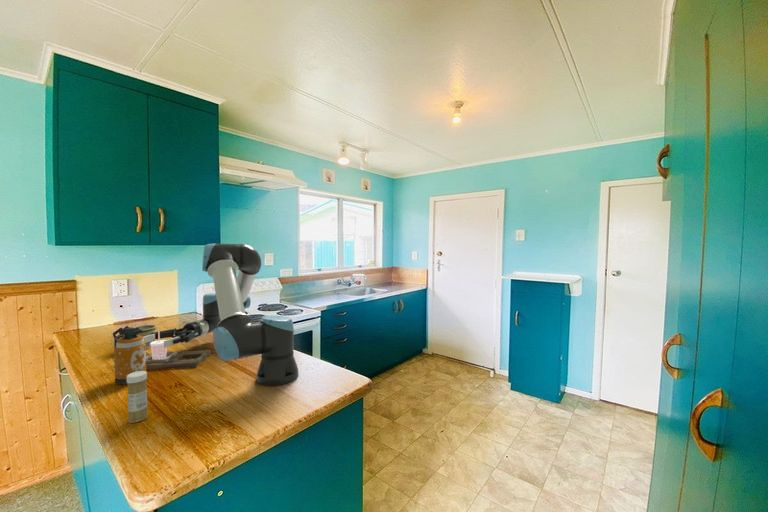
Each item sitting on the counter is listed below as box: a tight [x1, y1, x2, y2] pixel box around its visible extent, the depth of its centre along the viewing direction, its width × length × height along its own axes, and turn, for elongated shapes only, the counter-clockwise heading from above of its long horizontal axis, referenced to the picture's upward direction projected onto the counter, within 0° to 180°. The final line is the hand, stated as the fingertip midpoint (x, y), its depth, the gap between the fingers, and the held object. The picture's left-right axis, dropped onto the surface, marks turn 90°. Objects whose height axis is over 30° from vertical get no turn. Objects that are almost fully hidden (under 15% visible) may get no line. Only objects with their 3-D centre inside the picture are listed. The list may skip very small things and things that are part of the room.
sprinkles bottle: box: [126, 370, 149, 424], centre depth 88 cm, size 5×5×13 cm
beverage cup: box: [150, 329, 168, 359], centre depth 130 cm, size 6×6×14 cm
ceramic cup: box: [132, 324, 157, 350], centre depth 150 cm, size 13×10×10 cm
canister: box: [112, 325, 147, 385], centre depth 113 cm, size 9×11×20 cm
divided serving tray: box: [146, 349, 212, 371], centre depth 131 cm, size 15×23×3 cm, turn 100°
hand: (151, 342), depth 127 cm, fingers open, 13 cm apart
